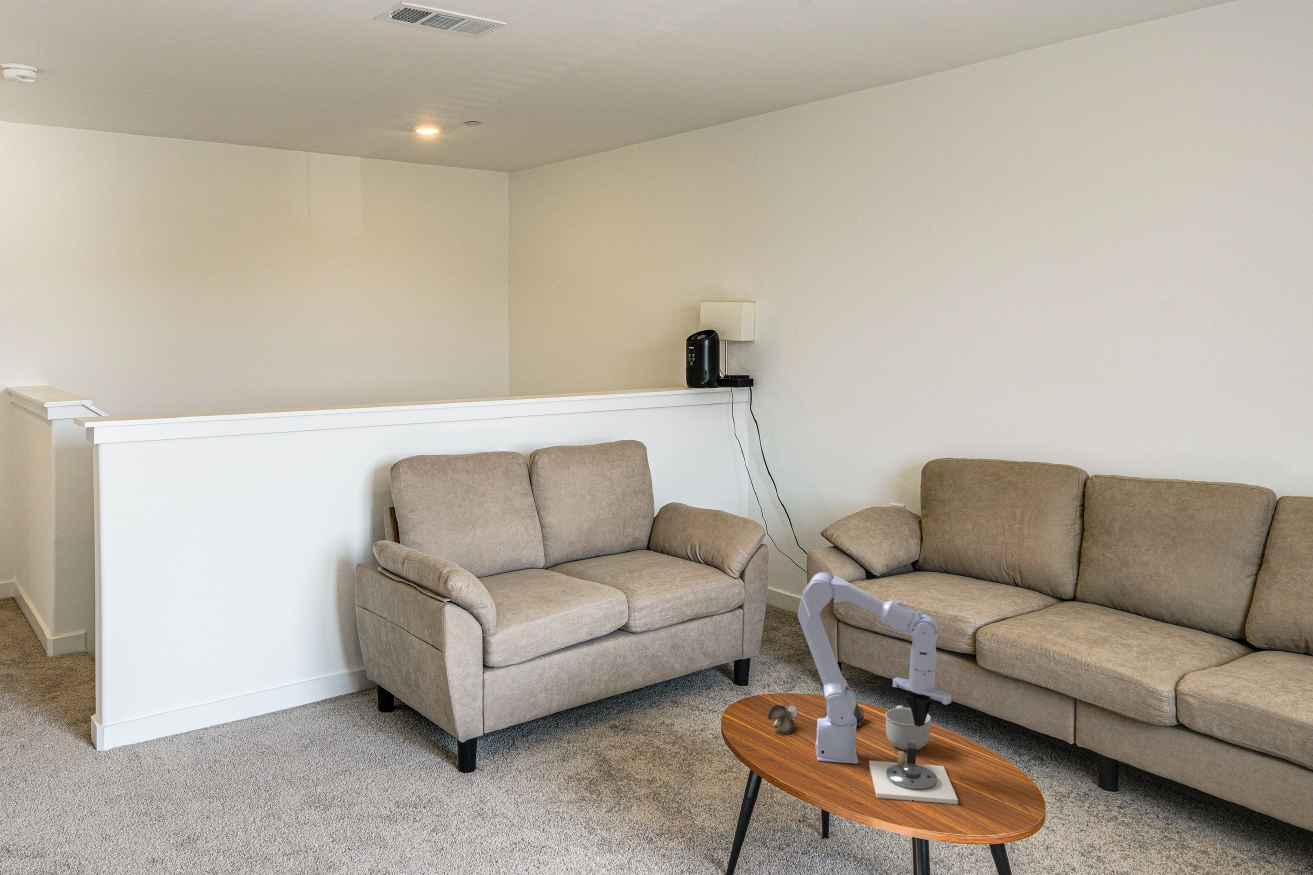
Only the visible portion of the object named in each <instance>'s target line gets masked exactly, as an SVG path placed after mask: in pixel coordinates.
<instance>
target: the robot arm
mask: <svg viewBox="0 0 1313 875" xmlns="http://www.w3.org/2000/svg"><path fill="white" fill-rule="evenodd" d="M800 598H801V599H800V603H799V607H798V612H797V619H798V622H799V623H800V626H801V630H802V632H803V634H804V637H805V639H806V642H807V645H808V647H809V650H810V654H811V656H812V658H813V662H814V663H815V666H816V669H817V672H818V674H819V677H820V680H821V682H822V685H823V691H824V692H823V693H824V699H825V701H826V702H827V716H826V718H825V717H823V718H822V717H821V718H820V717H819V718H816V719H817V721H816V741H815V746H814V747H815V753H816V758H817V761H818V762H828V763H829V762H830V763H831V762H832V763H833V762H834V763H844V764H855V765H856V764H857V765H858V764H859V759H858V754H857V750H856V746H857V745H856V744H857V742H856V741H857V727H856V725H857V719H856V717H855V716H854V709H855V707H856V704H858V698H857V695H856V693H855V692H854V691H853V690H852V688H850V686H849V685H848V682H847V680H846V678H844V676H843V674H842V673H841V669H840V667H839V664H838V661H837V659H836V656H835V653H834V651H833V648H832V646H831V643H830V641H829V637H828V635H827V633H826V630H825V627H824V624H823V622H822V619H821V616H820V615H821V613H822V610H823V608H824V607H825V606H827V605H828V604H829V603H830V602H831V600H832V599H833V604H836V603H842V602H849V603H850V604H854V605H855V606H858V607H861V608H862V609H865V610H867V611H869V612H872V613H874V614H876V615H878V616H879V619H880V621H881V622H882V623H883V624H885V625H887V626H889V627H890V628H893V629H895V630H897V631H898V632H901V633H903V634H905V635H907V636H908V635H909V636H911V638H912V642H911V643H912V645H911V646H910V656H909V657H910V659H909V674H908V675H909V676H908V678H909V679H906V678H901V677H898V676H897V677H894V678H892V687H893V688H900V689H902V690H906V691H908V694H906V695H905V700H906V702H908V705H909V708H911V711H912V715H913V719H914V724H915V725H916V726H919V727H920V726H923V725H924V724H925V720H926V717H927V714H929V712H930V709H931V708H932V706H933V704H934V703H935V702H936V701H938V702H941V703H942V704H943V705H949V704H951V703H952V694H951V693H947V692H945V691H943V690H941V689H940V688H938V687H936V686H935V682H936V681H935V679H936V665H937V663H936V662H937V649H936V648H937V640H938V637H939V634H938V628H939V626H938V624H937V620H935V619H934V617H933V616H931V615H930V614H928V613H923V612H921V611H919V610H918V611H915V610H914V609H911V608H909V607H908V606H905V605H903V601H901V600H897V601H895V600H893V599H891V600H889V601H883V600H882V599H880V598H878V597H876V596H874V595H872V594H870V593H869V592H867V591H865V590H864V589H861V588H859V587H857V586H856V585H854V584H853V583H850V582H849V581H846V580H845V579H843V578H842V577H839V576H837V575H834V576H833V575H832V573H829V572H827V571H819V572H816V573H815V574H814V575H813V576H812V578H811V579H810V581H809V582H808V583H807V585H806V586H805V588H804V589H803V591H802V593H801V597H800Z"/></svg>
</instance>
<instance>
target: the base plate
mask: <svg viewBox="0 0 1313 875" xmlns="http://www.w3.org/2000/svg"><path fill="white" fill-rule="evenodd" d="M897 764H907V762H906V752H905V751H904V750H899V751H897V762H895V761H894V762H893V761H883V760H881V761H878V760H868V766H869V772H870V775H871V779H872V782H873V783H872V784H873V788H874V793H875V796H876V798H877V799H887V800H898V801H899V800H900V801H912V800H914V802H924V803H925V802H926V803H938V804H949V805H958V804H959V802H958V801H959V799H958V796H957V795H956V792H955V789H954V787H953V785H952V783H951V780H950V778H949V776H948V774H947V771H946V769H945V766H944V765H932V764H931V765H930V764H918V763H916V765H918V766H921V767H924V768H927V769H929V770H931V771H932V772H934V773H935V774H936V776H937V784H936V785H935V786H933V787H931V788H927V789H911V788H906V787H902V786H899V785H897V784H895V783H893V782H891V781H890V780H889V779H888V778H887V776H886V771H887V769H888V768H889V767H890V766H893V765H897ZM912 802H913V801H912Z"/></svg>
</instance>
